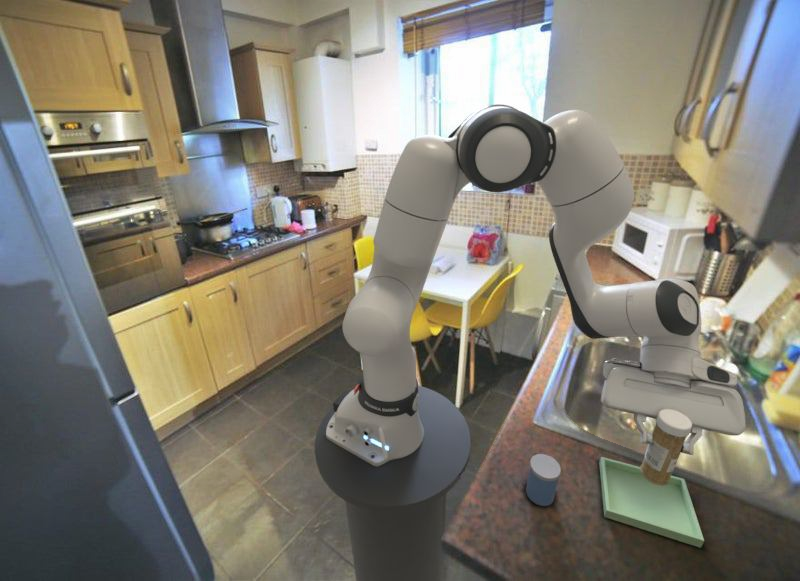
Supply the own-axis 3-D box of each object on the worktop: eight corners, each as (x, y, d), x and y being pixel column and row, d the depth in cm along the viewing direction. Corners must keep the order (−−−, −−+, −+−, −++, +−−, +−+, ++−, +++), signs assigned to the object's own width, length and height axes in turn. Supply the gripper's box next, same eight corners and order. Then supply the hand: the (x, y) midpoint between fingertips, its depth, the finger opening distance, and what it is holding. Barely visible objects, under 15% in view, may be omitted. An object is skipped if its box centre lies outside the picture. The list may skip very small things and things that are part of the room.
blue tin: (524, 501, 68) (529, 472, 65) (526, 478, 73) (531, 450, 69) (554, 510, 66) (560, 482, 63) (554, 486, 71) (561, 458, 68)
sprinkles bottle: (675, 487, 63) (699, 429, 57) (646, 485, 63) (668, 427, 57) (660, 464, 67) (682, 408, 61) (634, 463, 67) (653, 407, 62)
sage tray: (604, 517, 65) (606, 510, 64) (599, 463, 75) (601, 456, 75) (700, 548, 60) (704, 540, 59) (681, 485, 70) (684, 478, 69)
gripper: (607, 352, 66) (600, 431, 62) (749, 377, 59) (752, 468, 55) (600, 359, 72) (593, 431, 68) (730, 383, 64) (731, 465, 60)
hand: (666, 448), depth 61 cm, fingers closed on sprinkles bottle, 4 cm apart
